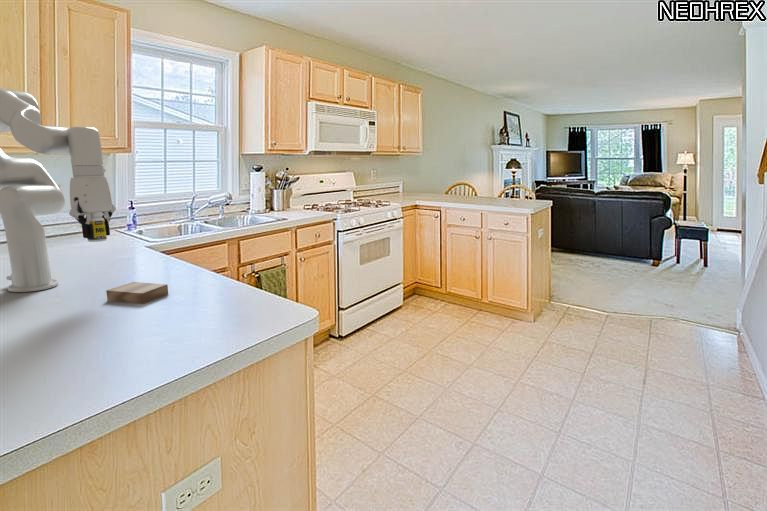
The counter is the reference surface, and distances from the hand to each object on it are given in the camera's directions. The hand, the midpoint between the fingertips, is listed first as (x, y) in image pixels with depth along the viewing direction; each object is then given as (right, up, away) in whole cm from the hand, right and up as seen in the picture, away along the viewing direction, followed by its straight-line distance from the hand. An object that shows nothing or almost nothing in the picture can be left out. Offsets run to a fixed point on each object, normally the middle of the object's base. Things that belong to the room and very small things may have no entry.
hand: (96, 235), depth 133 cm
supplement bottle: (0, -2, 0) cm, 2 cm away
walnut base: (+12, -18, 0) cm, 21 cm away
